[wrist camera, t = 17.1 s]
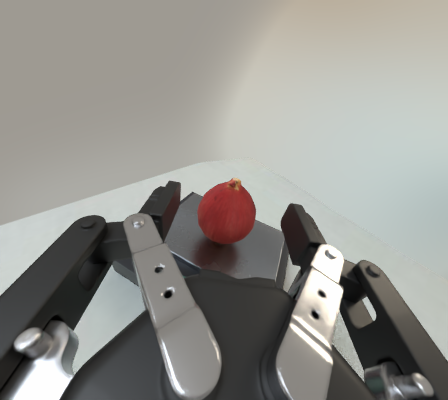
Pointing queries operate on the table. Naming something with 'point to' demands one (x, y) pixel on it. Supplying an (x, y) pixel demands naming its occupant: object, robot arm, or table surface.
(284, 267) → the scale
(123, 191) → the table surface
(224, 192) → the onion
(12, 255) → the table surface
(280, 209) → the table surface
